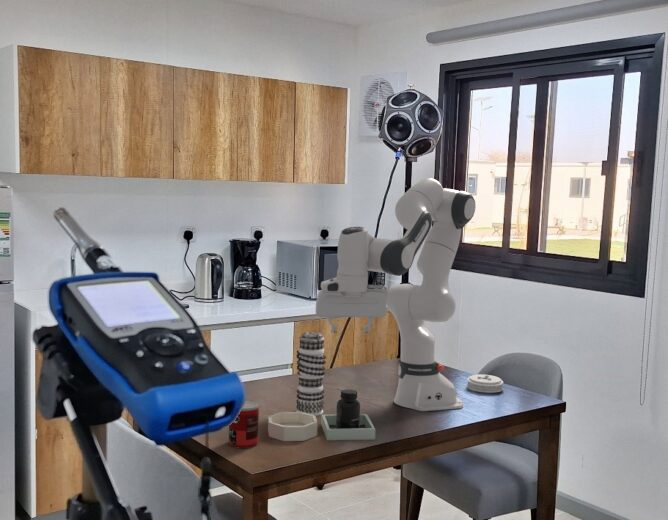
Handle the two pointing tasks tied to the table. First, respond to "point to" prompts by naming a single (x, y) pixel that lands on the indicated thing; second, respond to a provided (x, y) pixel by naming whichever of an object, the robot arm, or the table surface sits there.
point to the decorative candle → (310, 373)
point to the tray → (348, 433)
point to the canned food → (245, 426)
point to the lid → (485, 383)
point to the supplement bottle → (348, 410)
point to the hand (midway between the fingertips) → (350, 332)
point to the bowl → (292, 426)
